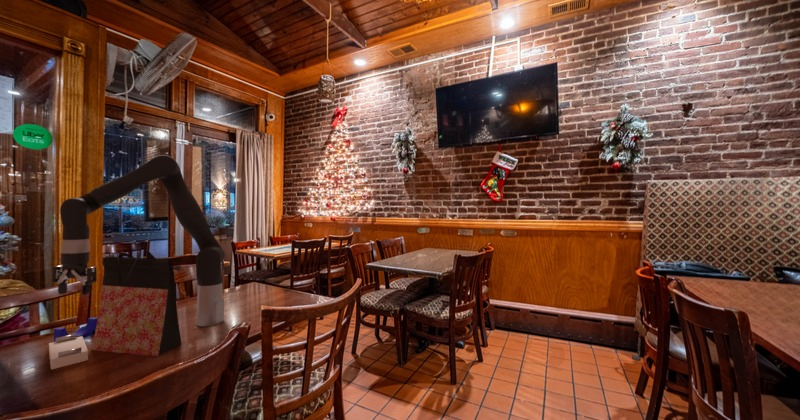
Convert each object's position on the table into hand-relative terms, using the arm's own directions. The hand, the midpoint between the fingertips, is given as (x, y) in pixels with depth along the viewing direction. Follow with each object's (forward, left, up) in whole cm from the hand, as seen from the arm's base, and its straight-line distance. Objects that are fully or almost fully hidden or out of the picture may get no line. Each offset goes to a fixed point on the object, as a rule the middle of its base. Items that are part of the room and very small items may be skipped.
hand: (74, 294), depth 116 cm
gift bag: (-30, +6, -17) cm, 35 cm away
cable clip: (-1, 0, -17) cm, 17 cm away
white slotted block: (-12, +13, -17) cm, 24 cm away
